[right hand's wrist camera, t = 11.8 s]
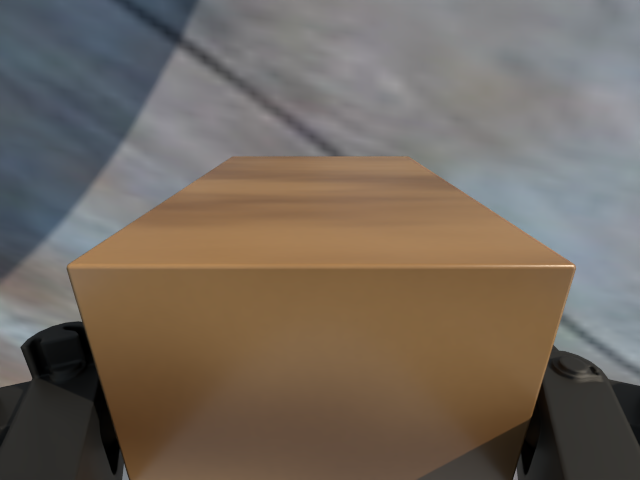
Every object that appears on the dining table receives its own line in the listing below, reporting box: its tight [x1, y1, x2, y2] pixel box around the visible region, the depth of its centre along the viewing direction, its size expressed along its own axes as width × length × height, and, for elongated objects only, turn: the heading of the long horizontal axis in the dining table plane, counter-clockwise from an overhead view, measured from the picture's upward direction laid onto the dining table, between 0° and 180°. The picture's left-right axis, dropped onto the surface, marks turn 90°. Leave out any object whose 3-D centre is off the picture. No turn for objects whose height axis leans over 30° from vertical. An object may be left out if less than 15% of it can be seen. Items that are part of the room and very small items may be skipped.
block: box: [67, 157, 576, 480], centre depth 12 cm, size 8×8×11 cm
